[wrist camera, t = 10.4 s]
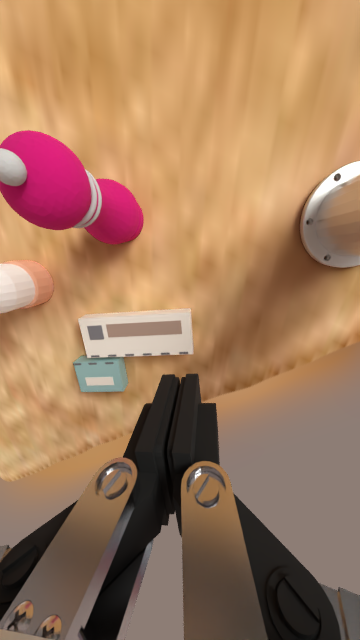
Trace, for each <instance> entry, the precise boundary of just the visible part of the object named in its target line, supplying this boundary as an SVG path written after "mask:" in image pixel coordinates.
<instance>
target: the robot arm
mask: <svg viewBox="0 0 360 640" xmlns="http://www.w3.org/2000/svg"><path fill="white" fill-rule="evenodd" d="M333 178H334V179H335V180H334V179H333ZM306 221H308V224H306ZM300 235H301V239H302V243H303V245H304V247H305V249H306V251H307V252H308V253H309V254H310V256H311V257H312V258H314V259H315V260H316V261H318V262H319V263H322V264H324V265H327V266H331V267H340V268H345V267H354V266H358V265H360V161H356V162H352V163H350V164H347V165H345V166H343V167H341V168H339V169H337V170H336V171H334V172H332V173H331V174H330V175H328V176H327V177H326V178H324V179H323V180H322V181H321V182H320V183H319V184H318V185H317V186H316V188H315V189H314V190H313V192H312V193H311V195H310V196H309V198H308V200H307V202H306V204H305V206H304V209H303V212H302V215H301V222H300ZM324 256H325V259H324ZM174 512H176V517H177V522H178V528H179V532H180V535H181V537H182V569H183V621H184V640H360V595H357V594H355V593H352V592H350V591H348V590H345V589H343V588H340V587H339V588H338V591H337V590H335V589H332V588H330V587H327V586H325V585H323V584H321V583H318V582H317V580H316V579H315V578H314V577H313V575H312V574H311V573H310V572H309V571H308V570H307V569H306V568H305V567H304V566H303V565H302V564H301V563H300V562H299V561H298V560H297V559H296V558H295V557H294V556H293V555H292V554H291V553H290V552H289V550H288V549H287V548H286V547H285V546H284V545H283V544H282V543H281V542H280V541H279V540H278V539H277V538H276V537H275V536H274V535H273V534H272V533H271V532H270V531H269V530H268V529H267V528H266V527H265V526H264V525H263V523H262V522H261V521H260V520H259V519H258V518H257V517H256V516H255V515H254V514H253V513H252V512H251V511H250V510H249V509H248V508H247V507H246V506H245V505H244V504H243V503H242V502H241V501H240V500H239V499H238V497H237V496H236V495H234V493H233V490H232V486H231V482H230V479H229V477H228V475H227V473H226V472H225V471H224V470H223V468H222V467H220V465H219V445H218V427H217V412H216V403H201V395H200V386H199V377H198V374H186V377H182V379H181V384H180V380H179V377H175V375H174V374H169V375H162V378H161V381H160V383H159V386H158V389H157V392H156V394H155V397H154V400H153V402H152V403H146V404H145V405H144V407H143V409H142V412H141V414H140V417H139V419H138V421H137V424H136V426H135V429H134V431H133V434H132V436H131V438H130V441H129V443H128V446H127V449H126V451H125V453H124V456H123V458H116V459H113V460H111V461H109V462H107V463H106V464H104V465H103V466H102V467H101V468H100V469H99V470H98V471H97V472H96V474H95V475H94V477H93V478H92V480H91V481H90V483H89V484H88V486H87V488H86V489H85V491H84V492H83V494H82V495H81V497H80V498H79V500H77V501H76V502H75V503H73V504H72V505H70V506H69V507H68V508H66V509H65V510H63V511H62V512H61V513H59V514H58V515H56V516H55V517H54V518H52V519H51V520H49V521H48V522H47V523H45V524H44V525H42V526H41V527H40V528H38V529H37V530H36V531H34V532H33V533H31V534H30V535H28V536H27V537H26V538H24V539H23V540H22V541H20V542H19V543H18V544H17V545H16V546H14V547H13V548H10V547H9V545H4V546H0V640H125V637H126V634H127V630H128V627H129V624H130V620H131V617H132V614H133V610H134V607H135V603H136V600H137V597H138V593H139V590H140V587H141V583H142V580H143V577H144V574H145V570H146V567H147V564H148V560H149V557H150V554H151V550H152V545H153V539H154V538H155V537H156V536H157V535H158V534H159V533H160V531H161V525H168V521H169V514H174Z"/></svg>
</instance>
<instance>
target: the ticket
mask: <svg viewBox="0 0 360 640" xmlns="http://www.w3.org/2000/svg"><path fill="white" fill-rule="evenodd" d="M78 321H79V325H80V329H81V334H82V338H83V342H84V346H85V350H86V354H87V358H101V357H128V356H156V355H184V354H193V349H194V346H193V332H192V318H191V308H184V309H167V310H151V311H134V312H118V313H101V314H86V315H84V316H82V317H80V318H78Z"/></svg>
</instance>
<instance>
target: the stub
mask: <svg viewBox="0 0 360 640" xmlns="http://www.w3.org/2000/svg"><path fill="white" fill-rule="evenodd" d="M73 365H74V367H75V371H76V375H77V378H78V382H79V386H80V389H81V392H113V391H124V390H125V388H126V386H127V384H128V379H127V374H126V368H125V363H124V357H101V358H87V356H80V357H79V358H78V359H77V360H76V361H75V362H73Z"/></svg>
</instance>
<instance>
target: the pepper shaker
mask: <svg viewBox="0 0 360 640" xmlns="http://www.w3.org/2000/svg"><path fill="white" fill-rule="evenodd" d="M53 291H54V284H53V280H52V277H51V275H50V274H49V272H48V270H46V269H45V268H44V267H43V266H42V265H41V264H39V263H37V262H35V261H31V260H18V261H6V262H3V263H1V264H0V313H6V312H9V311H12V310H15V309H18V308H20V309H24V308H30V307H33V306H36V305H39V304H42V303H44V302H46V301H48V300H49V299H50V298H51V296H52V294H53Z"/></svg>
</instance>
